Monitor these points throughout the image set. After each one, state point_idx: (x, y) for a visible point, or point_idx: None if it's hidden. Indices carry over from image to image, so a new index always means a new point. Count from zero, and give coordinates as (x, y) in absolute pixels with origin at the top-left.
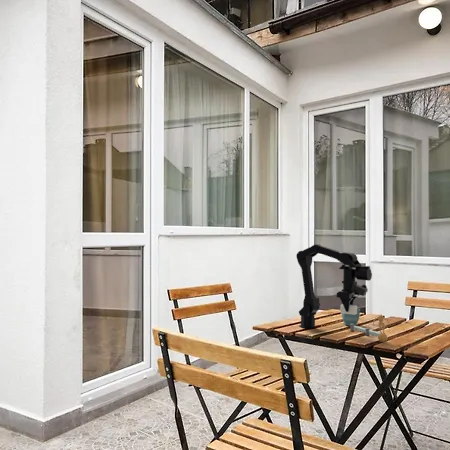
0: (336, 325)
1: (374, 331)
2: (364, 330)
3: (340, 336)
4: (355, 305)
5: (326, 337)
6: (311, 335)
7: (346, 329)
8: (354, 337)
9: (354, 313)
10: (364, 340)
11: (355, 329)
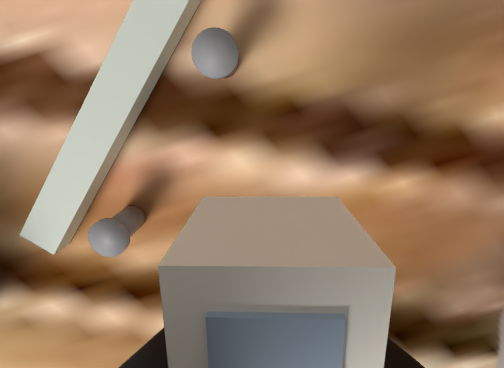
0: (29, 354)
1: (141, 13)
2: (130, 117)
3: (395, 217)
4: (199, 297)
5: (488, 278)
6: (474, 365)
7: (110, 263)
8: (369, 124)
9: (341, 203)
10: (445, 17)
11: (87, 206)
